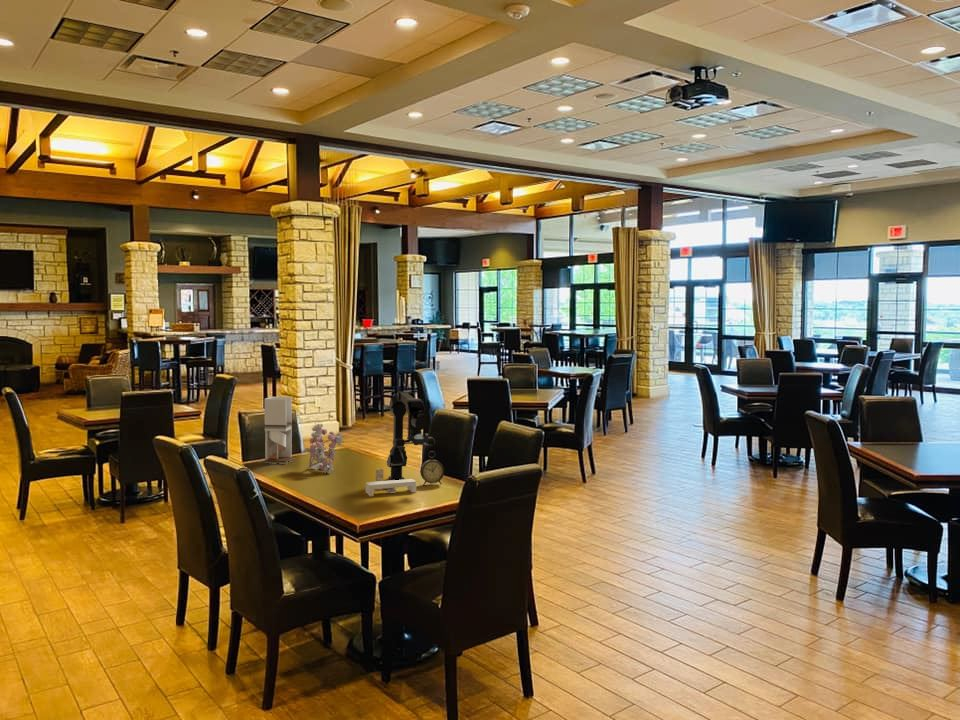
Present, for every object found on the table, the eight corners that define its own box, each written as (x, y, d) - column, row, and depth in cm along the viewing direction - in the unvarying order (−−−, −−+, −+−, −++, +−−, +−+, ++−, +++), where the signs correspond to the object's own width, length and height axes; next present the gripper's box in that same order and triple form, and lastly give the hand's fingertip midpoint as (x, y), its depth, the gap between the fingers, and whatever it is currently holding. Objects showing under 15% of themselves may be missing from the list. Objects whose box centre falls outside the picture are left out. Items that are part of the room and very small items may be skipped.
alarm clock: (421, 486, 352) (421, 452, 351) (419, 483, 357) (419, 450, 356) (444, 485, 355) (444, 451, 354) (441, 482, 360) (442, 449, 359)
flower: (287, 472, 371) (308, 428, 367) (296, 458, 393) (317, 417, 389) (324, 489, 373) (345, 446, 369) (331, 475, 395) (351, 434, 391)
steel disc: (384, 492, 340) (384, 490, 340) (394, 491, 342) (394, 489, 341) (387, 495, 336) (387, 492, 336) (397, 494, 337) (397, 491, 337)
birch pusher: (370, 483, 356) (370, 469, 355) (386, 482, 359) (386, 468, 359) (378, 490, 343) (378, 475, 342) (395, 488, 346) (395, 474, 346)
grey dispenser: (264, 464, 397) (264, 398, 395) (270, 460, 408) (270, 396, 405) (285, 464, 397) (285, 399, 394) (291, 460, 407) (291, 397, 405)
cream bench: (365, 493, 337) (365, 482, 337) (411, 489, 346) (412, 478, 345) (369, 496, 331) (369, 485, 331) (416, 492, 340) (416, 481, 340)
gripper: (400, 430, 329) (399, 465, 330) (439, 428, 337) (439, 462, 338) (392, 426, 340) (392, 460, 341) (431, 424, 347) (430, 457, 348)
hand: (413, 460), depth 342 cm, fingers open, 9 cm apart
